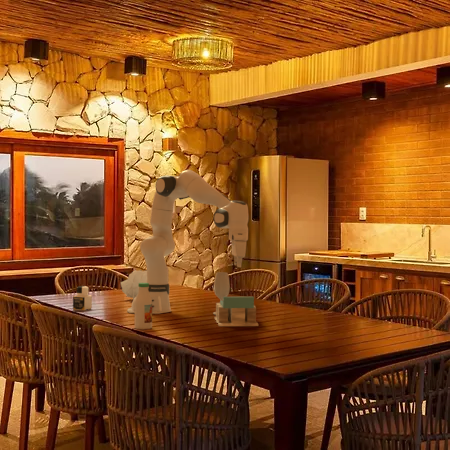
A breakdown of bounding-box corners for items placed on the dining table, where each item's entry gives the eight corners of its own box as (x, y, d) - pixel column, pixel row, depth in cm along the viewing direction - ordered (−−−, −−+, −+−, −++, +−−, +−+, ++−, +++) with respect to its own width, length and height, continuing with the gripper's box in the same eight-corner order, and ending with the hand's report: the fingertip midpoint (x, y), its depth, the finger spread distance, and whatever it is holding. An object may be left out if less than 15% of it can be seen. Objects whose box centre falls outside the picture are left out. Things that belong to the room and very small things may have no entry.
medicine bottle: (72, 309, 350) (72, 286, 350) (80, 307, 357) (80, 285, 357) (84, 310, 348) (84, 287, 348) (92, 308, 354) (92, 286, 354)
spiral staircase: (138, 304, 400) (163, 307, 381) (115, 294, 389) (140, 296, 371) (148, 276, 405) (174, 277, 387) (126, 264, 395) (151, 265, 376)
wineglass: (228, 316, 335) (228, 273, 334) (211, 315, 336) (211, 273, 336) (231, 313, 343) (232, 272, 343) (214, 312, 345) (215, 271, 344)
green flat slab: (220, 303, 320) (220, 293, 320) (249, 303, 321) (249, 293, 321) (223, 308, 306) (223, 297, 306) (253, 308, 308) (253, 297, 307)
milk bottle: (138, 330, 292) (138, 284, 292) (132, 327, 299) (132, 282, 299) (154, 328, 296) (155, 283, 296) (148, 326, 303) (148, 281, 302)
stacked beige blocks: (214, 319, 324) (214, 296, 324) (251, 318, 326) (251, 296, 326) (219, 326, 304) (219, 302, 304) (258, 326, 307) (258, 301, 306)
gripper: (228, 235, 318) (228, 264, 318) (234, 236, 297) (233, 268, 298) (242, 235, 318) (241, 264, 319) (248, 237, 298) (247, 268, 298)
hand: (237, 266), depth 308 cm, fingers open, 8 cm apart
